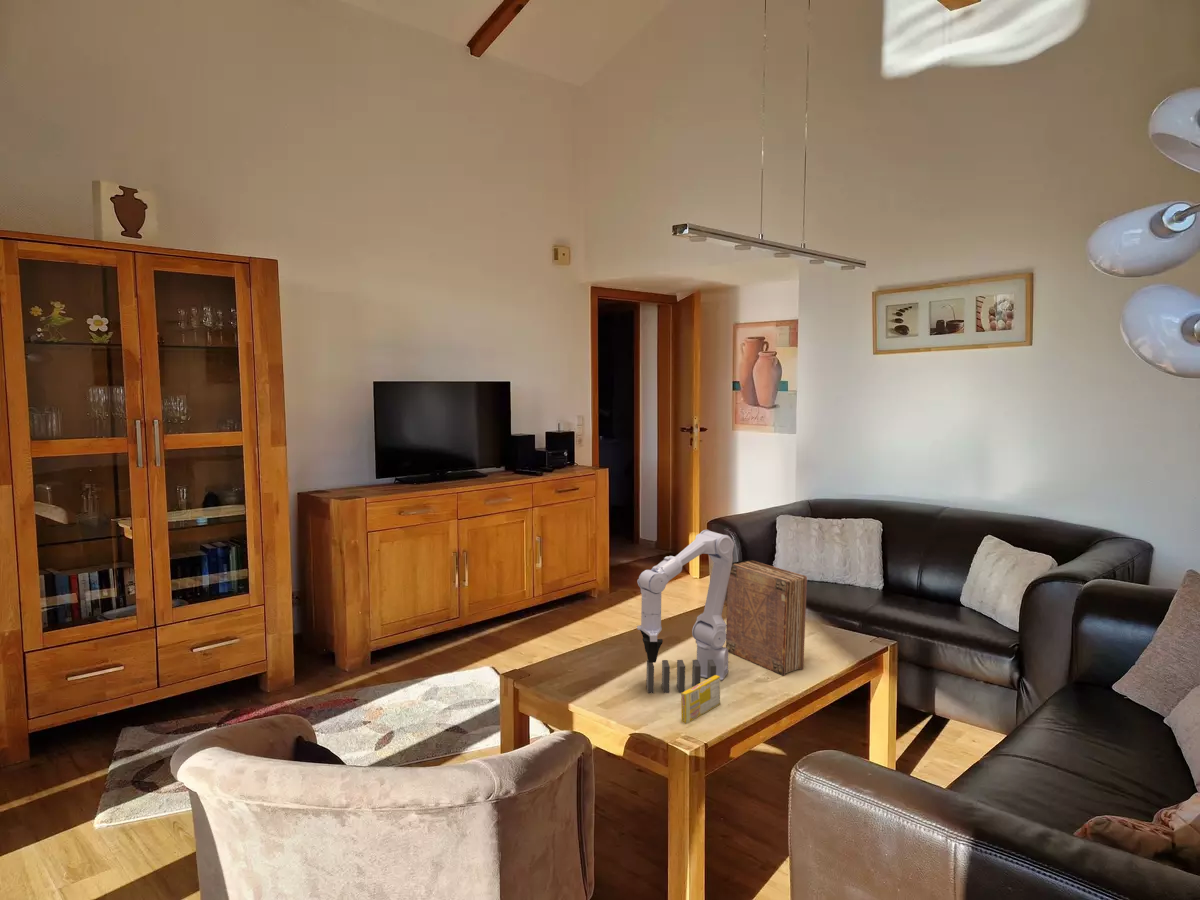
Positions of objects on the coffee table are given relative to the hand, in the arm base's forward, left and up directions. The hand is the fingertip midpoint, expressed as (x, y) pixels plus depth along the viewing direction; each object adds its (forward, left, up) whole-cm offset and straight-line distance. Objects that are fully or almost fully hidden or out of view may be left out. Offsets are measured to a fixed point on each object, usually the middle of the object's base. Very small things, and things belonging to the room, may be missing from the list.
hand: (650, 657), depth 229 cm
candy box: (-18, +9, -10) cm, 22 cm away
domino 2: (-4, -2, -10) cm, 11 cm away
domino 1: (0, 0, -10) cm, 10 cm away
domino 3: (-8, -4, -10) cm, 13 cm away
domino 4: (-12, -6, -10) cm, 17 cm away
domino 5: (-16, -8, -10) cm, 21 cm away
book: (-26, -36, -10) cm, 46 cm away
